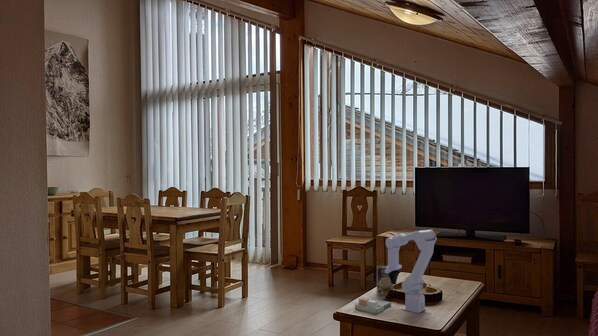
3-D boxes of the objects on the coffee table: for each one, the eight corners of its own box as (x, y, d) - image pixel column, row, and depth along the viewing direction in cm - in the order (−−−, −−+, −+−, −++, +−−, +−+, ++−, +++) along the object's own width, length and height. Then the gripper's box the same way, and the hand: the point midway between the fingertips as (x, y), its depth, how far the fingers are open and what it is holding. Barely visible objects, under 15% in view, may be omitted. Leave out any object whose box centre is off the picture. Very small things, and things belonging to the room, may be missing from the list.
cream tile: (377, 301, 259) (374, 302, 257) (377, 310, 259) (374, 311, 257) (370, 299, 262) (367, 301, 260) (370, 308, 262) (367, 309, 260)
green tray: (384, 310, 260) (384, 305, 260) (376, 314, 255) (376, 309, 255) (363, 305, 269) (363, 300, 269) (355, 309, 263) (354, 304, 263)
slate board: (390, 306, 267) (390, 302, 267) (382, 310, 261) (382, 306, 261) (372, 302, 274) (372, 298, 274) (364, 305, 268) (364, 302, 268)
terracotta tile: (369, 299, 263) (365, 300, 261) (369, 307, 263) (365, 309, 261) (362, 297, 266) (358, 298, 264) (362, 306, 266) (358, 307, 264)
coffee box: (377, 296, 285) (376, 268, 285) (376, 292, 292) (376, 265, 291) (393, 296, 284) (393, 268, 284) (392, 293, 291) (392, 265, 290)
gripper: (393, 255, 281) (393, 280, 282) (379, 260, 270) (380, 285, 271) (405, 257, 276) (405, 282, 277) (391, 262, 265) (391, 287, 266)
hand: (393, 284), depth 273 cm, fingers closed
